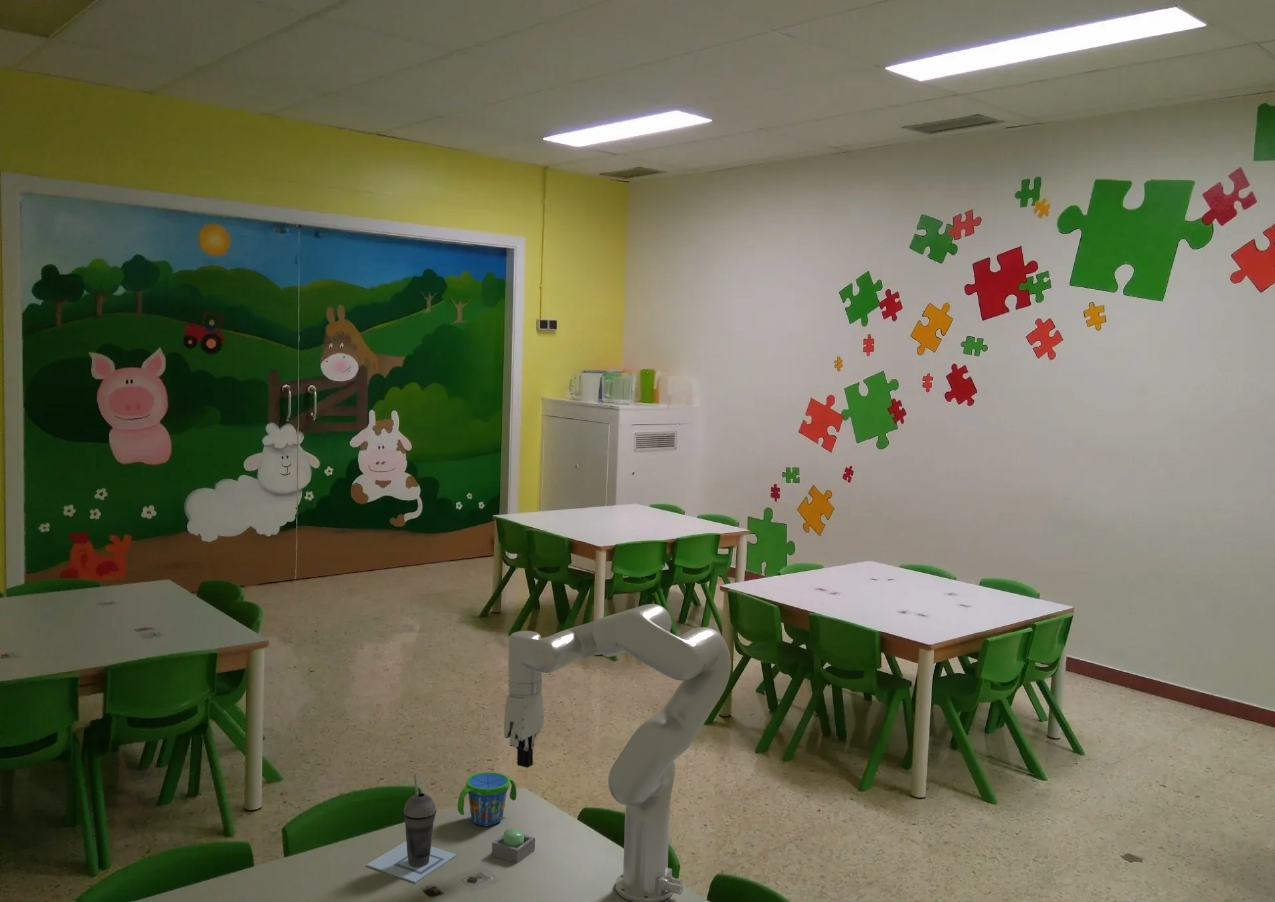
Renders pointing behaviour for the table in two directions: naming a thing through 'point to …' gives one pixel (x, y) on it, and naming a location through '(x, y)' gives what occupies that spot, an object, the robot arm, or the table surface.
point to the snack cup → (486, 797)
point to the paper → (399, 866)
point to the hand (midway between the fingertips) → (525, 765)
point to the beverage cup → (419, 827)
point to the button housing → (513, 849)
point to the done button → (514, 837)
